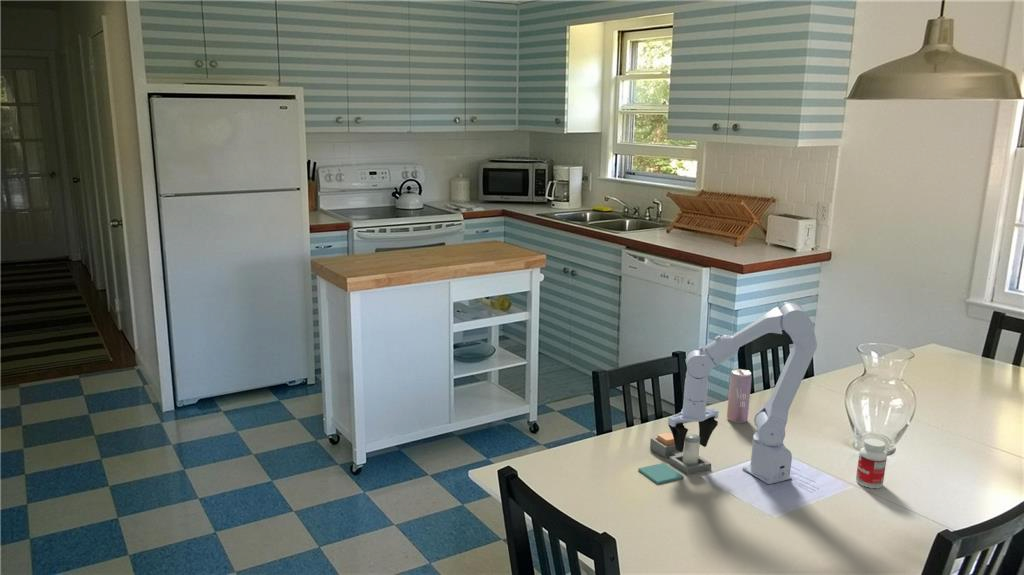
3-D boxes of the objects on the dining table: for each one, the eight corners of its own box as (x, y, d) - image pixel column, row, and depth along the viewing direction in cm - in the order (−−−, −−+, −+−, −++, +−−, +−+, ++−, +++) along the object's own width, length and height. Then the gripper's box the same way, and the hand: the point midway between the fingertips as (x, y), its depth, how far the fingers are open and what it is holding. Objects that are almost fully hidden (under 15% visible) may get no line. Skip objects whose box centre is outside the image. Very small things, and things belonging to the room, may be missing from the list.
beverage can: (745, 416, 233) (749, 369, 230) (749, 424, 227) (753, 375, 224) (725, 415, 233) (729, 368, 230) (728, 423, 228) (732, 374, 224)
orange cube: (677, 451, 207) (678, 437, 206) (665, 454, 205) (666, 440, 204) (668, 446, 210) (669, 432, 209) (656, 448, 208) (657, 434, 208)
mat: (683, 478, 192) (683, 475, 192) (657, 484, 189) (657, 481, 189) (663, 464, 199) (664, 462, 199) (638, 470, 196) (638, 468, 196)
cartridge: (701, 467, 198) (703, 438, 197) (688, 470, 197) (691, 441, 195) (690, 461, 202) (693, 432, 200) (678, 463, 200) (680, 435, 198)
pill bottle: (850, 478, 195) (856, 437, 192) (873, 477, 195) (879, 436, 193) (864, 489, 189) (869, 447, 186) (887, 489, 189) (893, 447, 187)
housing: (710, 469, 198) (711, 458, 197) (687, 474, 194) (688, 463, 194) (670, 444, 212) (671, 433, 211) (648, 448, 209) (649, 438, 208)
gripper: (707, 388, 202) (703, 437, 205) (662, 396, 196) (658, 446, 199) (725, 397, 196) (721, 447, 199) (679, 406, 189) (675, 457, 192)
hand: (691, 447), depth 198 cm, fingers open, 7 cm apart
